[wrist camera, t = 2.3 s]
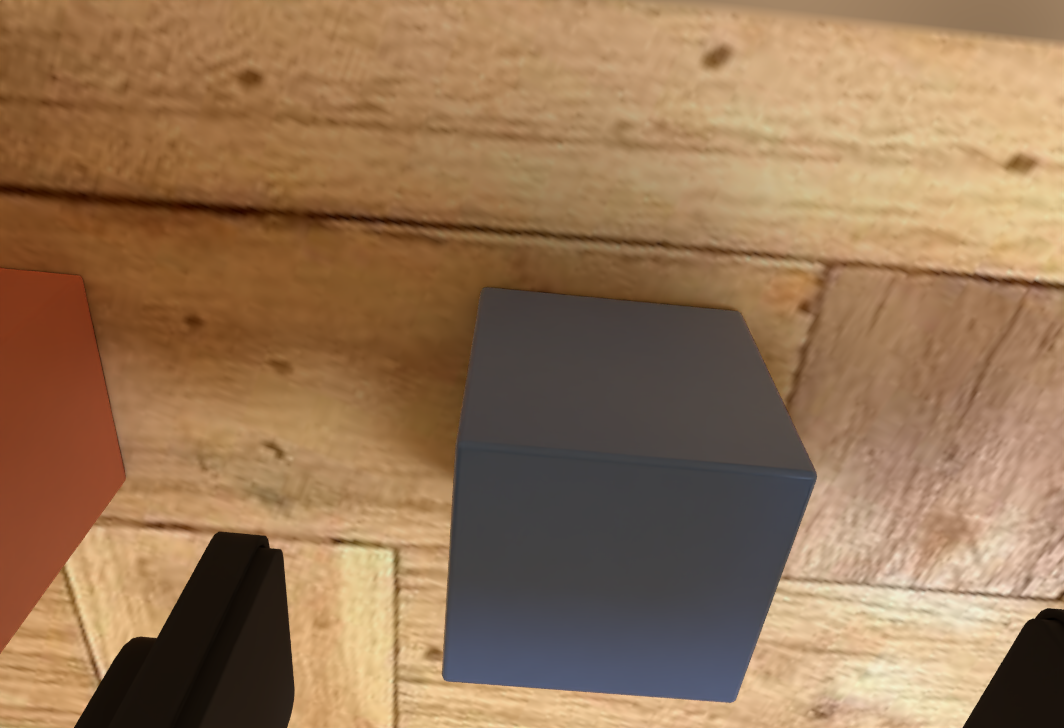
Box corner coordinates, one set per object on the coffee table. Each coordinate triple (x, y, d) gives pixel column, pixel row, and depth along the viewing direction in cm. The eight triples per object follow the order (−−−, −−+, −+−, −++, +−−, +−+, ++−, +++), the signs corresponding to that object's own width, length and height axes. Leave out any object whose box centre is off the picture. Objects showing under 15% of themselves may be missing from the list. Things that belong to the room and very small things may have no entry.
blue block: (480, 284, 13) (455, 443, 9) (742, 309, 13) (821, 475, 9) (466, 488, 15) (441, 683, 11) (689, 507, 15) (736, 705, 12)
